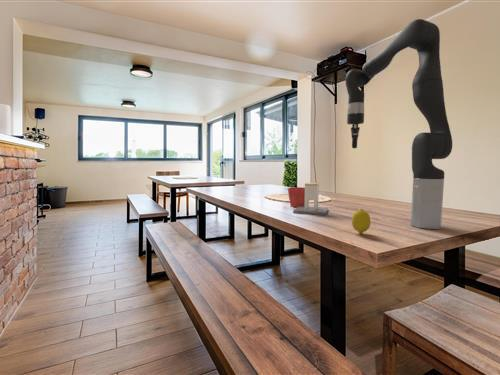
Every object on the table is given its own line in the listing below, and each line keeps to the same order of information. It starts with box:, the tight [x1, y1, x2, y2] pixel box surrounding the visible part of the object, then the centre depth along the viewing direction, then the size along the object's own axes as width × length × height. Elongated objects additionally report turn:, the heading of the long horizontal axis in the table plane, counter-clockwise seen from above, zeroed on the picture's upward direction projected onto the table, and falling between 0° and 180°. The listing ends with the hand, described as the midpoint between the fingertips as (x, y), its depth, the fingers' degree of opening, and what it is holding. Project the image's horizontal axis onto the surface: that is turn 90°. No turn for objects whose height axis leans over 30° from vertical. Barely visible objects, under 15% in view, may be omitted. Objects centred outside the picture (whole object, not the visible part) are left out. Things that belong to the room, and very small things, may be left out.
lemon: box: [351, 208, 372, 235], centre depth 88 cm, size 6×6×8 cm
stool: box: [304, 182, 320, 210], centre depth 129 cm, size 6×6×12 cm
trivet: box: [292, 206, 329, 216], centre depth 129 cm, size 14×14×1 cm
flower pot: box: [287, 186, 305, 208], centre depth 145 cm, size 11×11×10 cm
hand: (354, 147), depth 134 cm, fingers open, 8 cm apart
